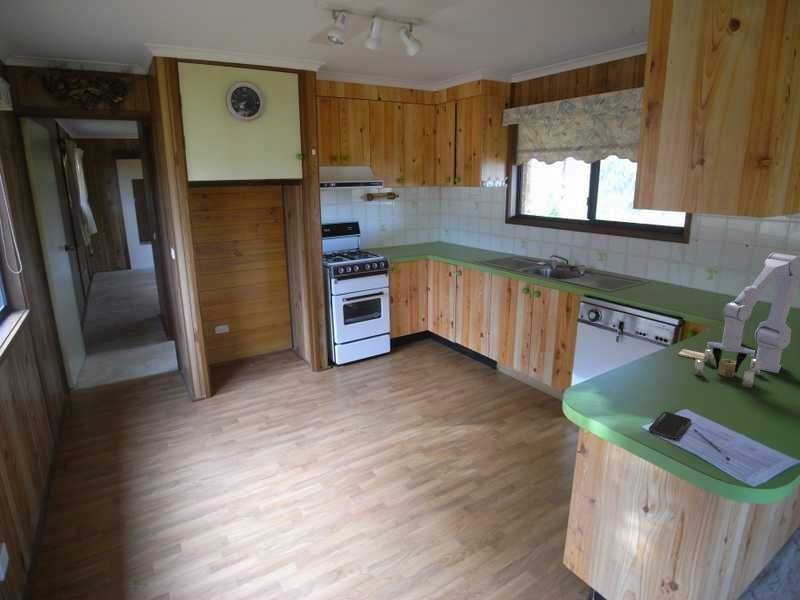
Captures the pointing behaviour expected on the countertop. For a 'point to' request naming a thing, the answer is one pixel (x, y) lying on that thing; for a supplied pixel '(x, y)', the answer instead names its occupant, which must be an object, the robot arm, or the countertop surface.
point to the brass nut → (726, 367)
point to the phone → (670, 425)
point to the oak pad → (691, 354)
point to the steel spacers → (748, 374)
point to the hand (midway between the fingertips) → (726, 369)
